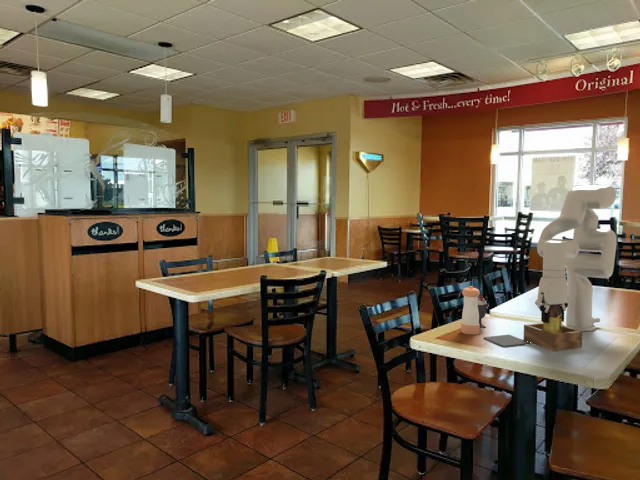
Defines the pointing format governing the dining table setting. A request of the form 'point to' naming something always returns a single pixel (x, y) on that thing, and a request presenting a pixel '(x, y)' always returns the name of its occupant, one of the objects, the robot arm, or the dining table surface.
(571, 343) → the caddy
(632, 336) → the dining table surface
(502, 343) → the mat
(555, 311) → the sauce bottle
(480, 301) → the sundae
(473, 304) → the salt shaker
